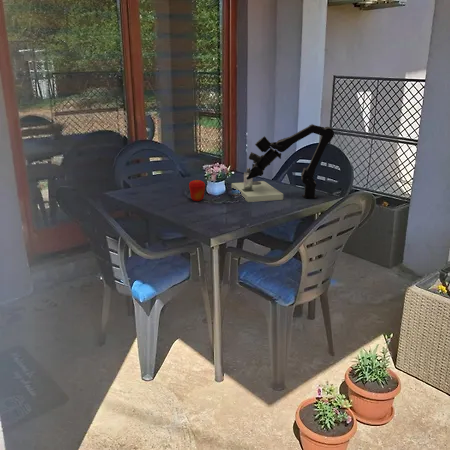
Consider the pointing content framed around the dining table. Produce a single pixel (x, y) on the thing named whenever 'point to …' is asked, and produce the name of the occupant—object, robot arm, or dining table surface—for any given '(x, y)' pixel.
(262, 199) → the block
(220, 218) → the dining table surface
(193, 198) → the red cylinder
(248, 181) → the grey upright piece
